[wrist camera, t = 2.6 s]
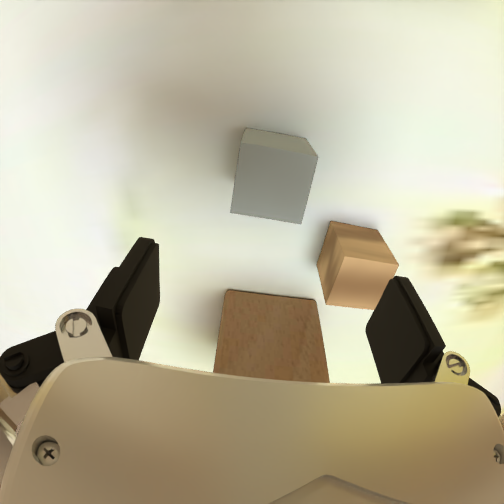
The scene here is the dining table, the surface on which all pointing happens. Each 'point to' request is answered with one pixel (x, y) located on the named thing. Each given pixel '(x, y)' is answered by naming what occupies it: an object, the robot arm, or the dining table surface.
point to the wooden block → (270, 338)
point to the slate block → (273, 176)
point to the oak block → (354, 266)
